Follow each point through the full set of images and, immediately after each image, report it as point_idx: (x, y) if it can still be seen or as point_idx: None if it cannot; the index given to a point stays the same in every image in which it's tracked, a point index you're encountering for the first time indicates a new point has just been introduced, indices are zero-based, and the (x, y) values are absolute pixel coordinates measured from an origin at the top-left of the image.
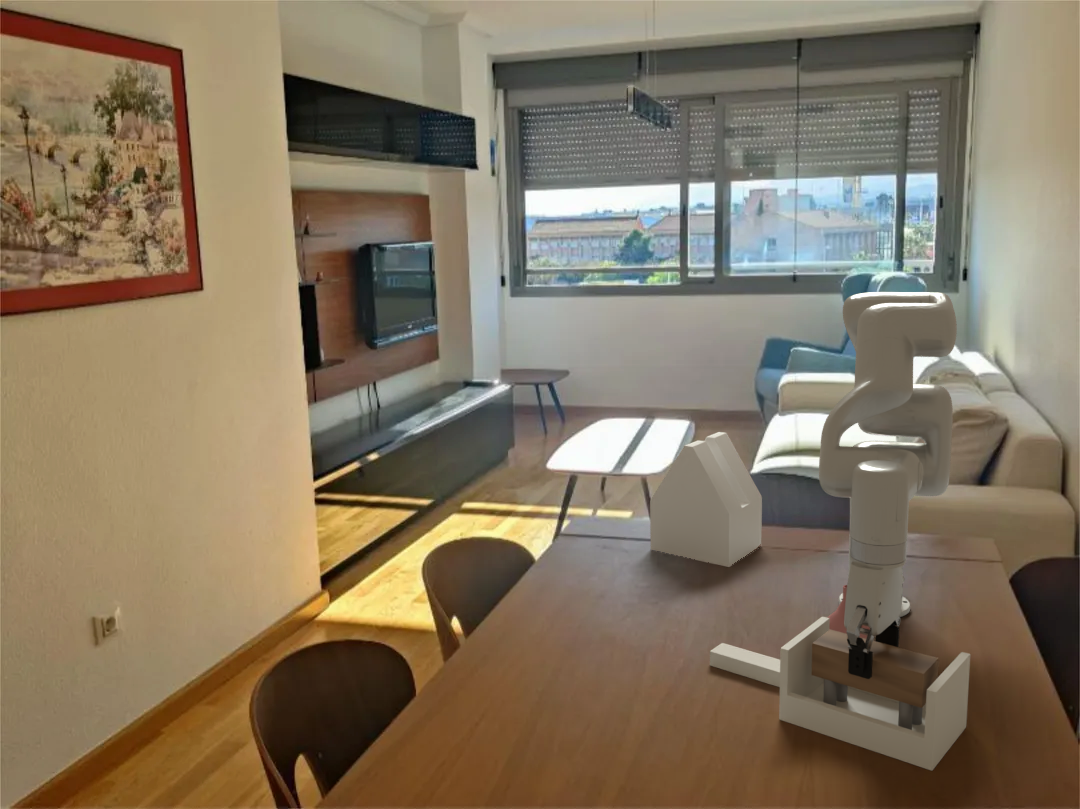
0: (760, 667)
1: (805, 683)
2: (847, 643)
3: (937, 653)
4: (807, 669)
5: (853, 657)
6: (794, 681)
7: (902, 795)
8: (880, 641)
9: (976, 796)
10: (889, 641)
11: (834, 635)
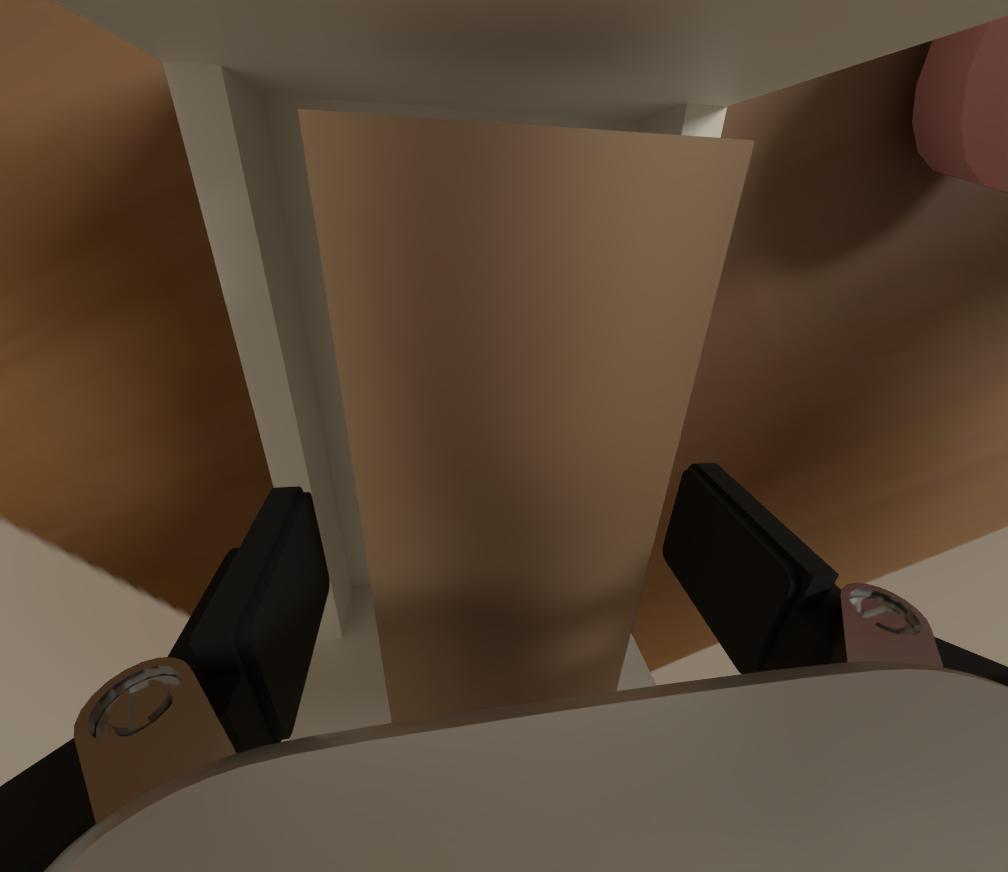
0: None
1: (431, 88)
2: (523, 414)
3: (987, 370)
4: (462, 68)
5: (191, 629)
6: (252, 53)
7: (167, 587)
8: (706, 515)
9: None
10: (699, 571)
11: (630, 250)
